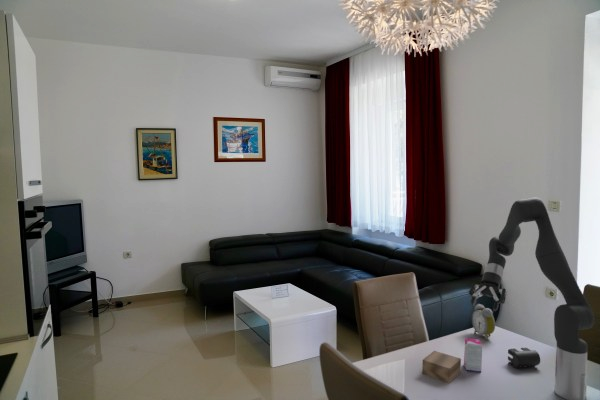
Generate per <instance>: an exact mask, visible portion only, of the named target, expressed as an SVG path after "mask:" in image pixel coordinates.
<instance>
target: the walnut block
mask: <svg viewBox="0 0 600 400" xmlns="http://www.w3.org/2000/svg"><path fill="white" fill-rule="evenodd" d="M461 362H462V359H461V358H460V357H456V356H454V355H450V354H447V353H444V352H440V351H438V350H437V351H436V350H433V351H432V352H430V353H429V354H428V355H427V356H425V357H424V358H423V359H422V369H421V370H422V371H421V373H422V375H424V376H428V377H430V378H434V379H437V380H439V381H442V382H445V383H448V384H451V382H453V380H454V379H456V378H457V377H458V376H459V375H460V373H461V370H462V368H461V367H462V366H461V365H462V363H461Z"/></svg>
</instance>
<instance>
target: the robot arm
mask: <svg viewBox="0 0 600 400" xmlns="http://www.w3.org/2000/svg"><path fill="white" fill-rule="evenodd" d="M529 222H535V224H536V226H537V229H538V239H537V241H536V246H535V251H534V255H535V259H536V261H537V263H538V266H539V268H540V271H541V272H542V274H543V275H544V276H545V277H546V278H547V280H548V281H550V282H551V283H552V284H553V285H554V286H555V287H556V288H557V289H558V290H559V292H560V293H561V294H562V297H563V299H564V301H565V304H560V305H558V306H556V308H555V310H554V315H553V326H554V327H553V328H554V329H553V332H554V339H555V341H556V350H555V366H554V367H555V368H554V369H555V372H554V373H555V374H554V376H555V377H554V393H555V395H557V396H558V397H560V398H563V399H565V400H586V397H587V385H588V384H587V383H588V370H587V364H588V348H589V347H588V343H587V342H586V340H583V339H582V338H580V335H579V333H580V331H583V330H589V329H591V328H593V326H594V324H595V315H594V312H593V310H592V308H591V305H590V304H589V302H588V301H587V299H586V297H585V295H584V294H583V292H582V290H581V289H580V286H579V285H578V283H577V281H576V277H575V276H574V274H573V272H572V270H571V267H570V265H569V263H568V260H567V258H566V256H565V253H564V251H563V249H562V247H561V245H560V242H559V240H558V238H557V236H556V233H555V231H554V230H555V229H554V228H553V225H552V222H551V219H550V217H549V213H548V210H547V207H546V204H545V203H544V202H543V200H542V199H541V198H540V197H530V198H524V199H518V200H515V201H514V202H513V204H512V205H511V207H510V210H509V214H508V216H507V219H506V223H505V226H504V227H503V229H502V230H501V232H500V233H499V235H498V236H494V237H493V236H492V237H491V239H490V240H489V243H488V252H489V253H488V254H489V256H488V261H487V263H486V266H485V268H484V272H483V274H482V278H481V280H480V284H476V283H475V282H473V283H472V284H471V287H470V289H469V291H468V295H469V297H471V300H470V304H471V306H472V307H475V306H476V304H477V301H478V300H477V299H479V298H480V297H483V296H484V297H488V298H493V300H494V301H493V302H494V303H493V305H492V312H496V311H498V308H499V305H500V304H502V305H503V304H505V303H506V299H507V298H506V297H507V292H508V291H507V289H506V288H500V287H501V283H502V280H503V276H504V270H505V267H506V262H507V260H506V258H505V257H509V256H512V254H513V253H514V251H515V243H516V242H517V241H518V240H519V238H520V237H521V234H522V233H521V232H522V230H521V226H520V225H521V224H522V223H529ZM499 293H500V298H498V296H497V294H499Z"/></svg>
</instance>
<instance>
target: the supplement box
mask: <svg viewBox="0 0 600 400" xmlns="http://www.w3.org/2000/svg"><path fill="white" fill-rule="evenodd" d="M463 357H464V358H463V366H464V369H465V371H466V372H474V373H482V362H483V360H482V359H483V344H482V342H481V340H480V339H476V338H475V339H474V338H465V339H464V355H463Z"/></svg>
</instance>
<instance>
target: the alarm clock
mask: <svg viewBox="0 0 600 400" xmlns="http://www.w3.org/2000/svg"><path fill="white" fill-rule="evenodd" d="M471 324H472V327H473V331H474V332H473V333H474V334H476V333H477V334H478V335H482V336H484V338H485V340H486V341H488V340H489V338H488V337H491V335H492V334H493V333H494V331H495V329H496V321H495V317H494V311H493V309H491V308H489V307H485V306H484V304H480V303H477V304H475V306H474V311H473V312H472V315H471Z"/></svg>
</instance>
